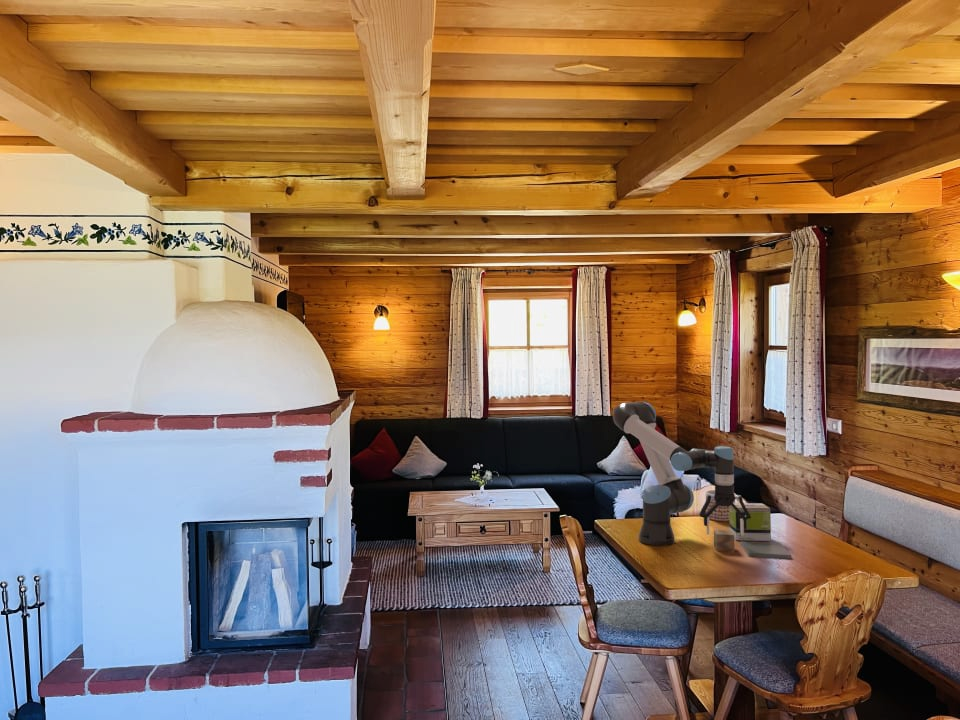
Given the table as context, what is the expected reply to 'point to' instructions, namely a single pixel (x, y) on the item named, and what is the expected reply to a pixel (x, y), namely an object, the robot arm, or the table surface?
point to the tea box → (751, 522)
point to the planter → (718, 510)
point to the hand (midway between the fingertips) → (725, 534)
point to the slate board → (765, 550)
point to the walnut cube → (724, 540)
